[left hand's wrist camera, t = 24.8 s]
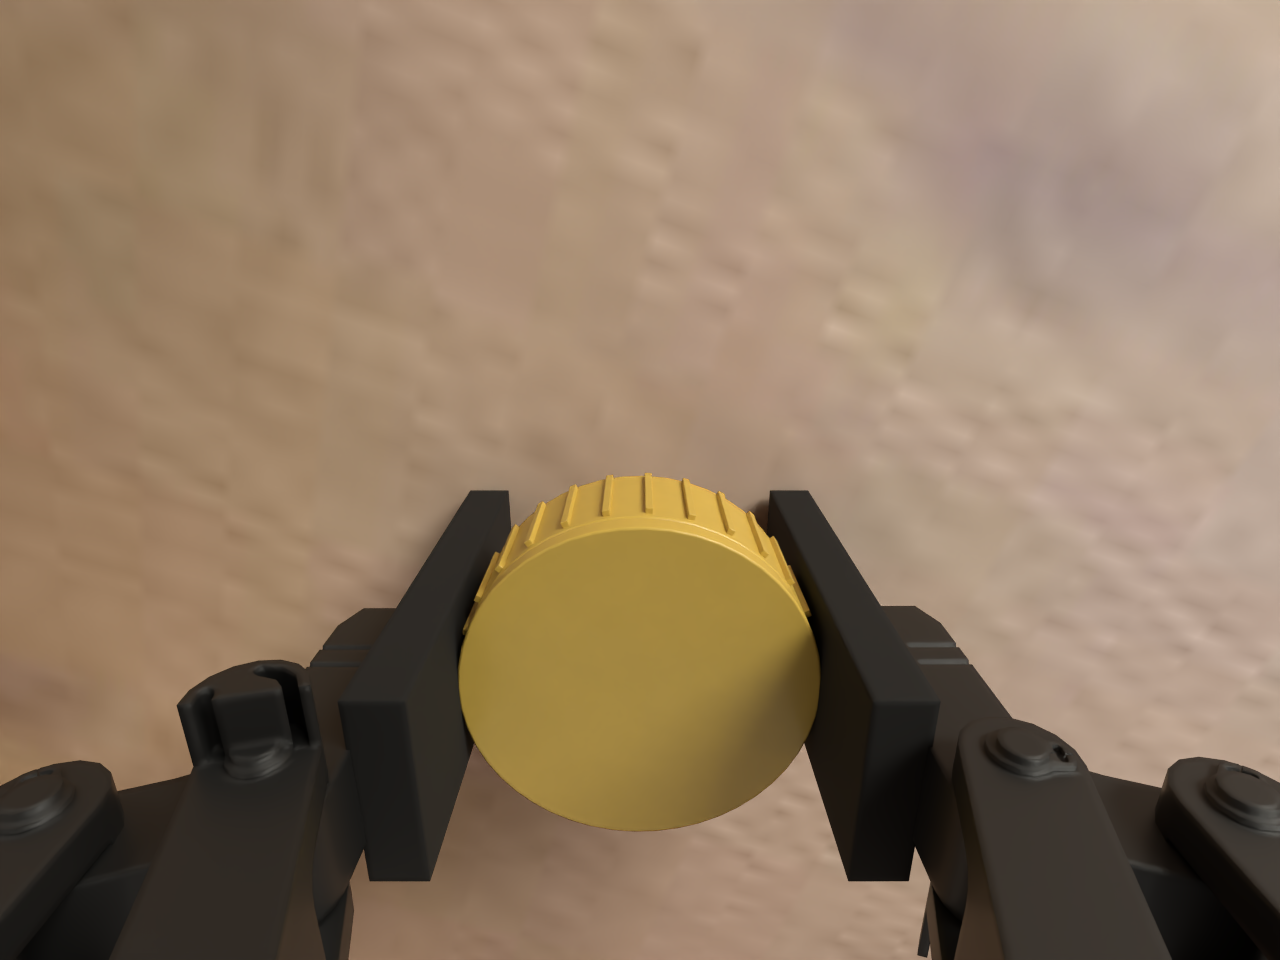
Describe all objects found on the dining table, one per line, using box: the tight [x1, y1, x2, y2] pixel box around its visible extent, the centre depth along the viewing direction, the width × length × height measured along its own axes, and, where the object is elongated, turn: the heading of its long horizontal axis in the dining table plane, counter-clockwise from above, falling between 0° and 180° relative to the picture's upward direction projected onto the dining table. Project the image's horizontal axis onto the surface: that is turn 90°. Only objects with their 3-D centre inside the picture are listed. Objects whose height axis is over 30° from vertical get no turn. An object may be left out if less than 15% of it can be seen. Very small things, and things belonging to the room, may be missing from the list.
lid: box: [458, 473, 821, 831], centre depth 11 cm, size 5×5×2 cm
